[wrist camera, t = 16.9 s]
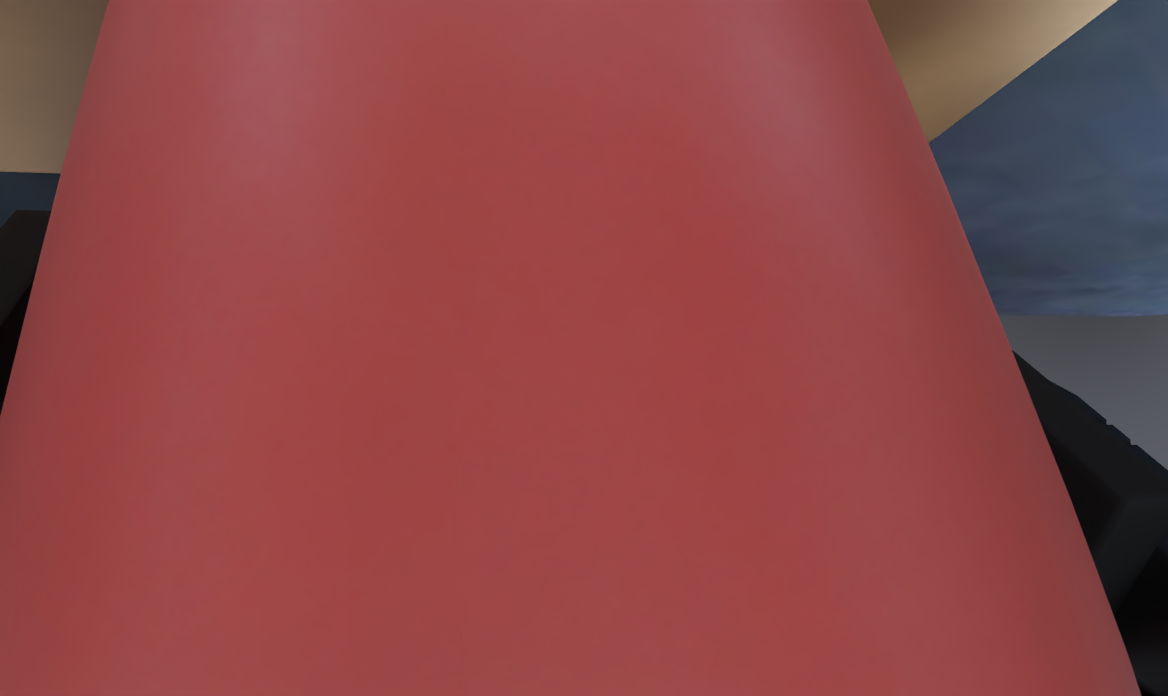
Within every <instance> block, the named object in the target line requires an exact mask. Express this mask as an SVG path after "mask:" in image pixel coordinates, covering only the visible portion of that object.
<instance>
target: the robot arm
mask: <svg viewBox="0 0 1168 696" xmlns="http://www.w3.org/2000/svg"><path fill="white" fill-rule="evenodd" d="M50 215H51V211H27V210H16V211H15V212H14V213H13V215H12V216H11V217H10V218H9V219H8V220H7V221H6V223H5V224H4V225H3V226H2V227H1V228H0V415H1V411H2V407H3V403H4V399H5V395H6V391H7V387H8V383H9V379H10V375H11V371H12V367H13V363H14V359H15V355H16V351H17V347H18V343H19V339H20V334H21V330H22V326H23V322H24V318H25V314H26V310H27V306H28V302H29V298H30V294H31V290H32V286H33V282H34V278H35V274H36V270H37V266H38V262H39V258H40V254H41V250H42V246H43V242H44V238H45V234H46V230H47V226H48V222H49V218H50ZM1012 352H1013V354H1014V357H1015V359H1016V362H1017V364H1018V367H1019V369H1020V372H1021V375H1022V377H1023V380H1024V382H1025V385H1026V387H1027V390H1028V392H1029V395H1030V397H1031V400H1032V402H1033V405H1034V407H1035V410H1036V413H1037V415H1038V418H1039V420H1040V423H1041V425H1042V428H1043V430H1044V433H1045V435H1046V438H1047V440H1048V443H1049V446H1050V448H1051V451H1052V453H1053V456H1054V458H1055V461H1056V463H1057V466H1058V468H1059V471H1060V473H1061V476H1062V479H1063V481H1064V484H1065V486H1066V489H1067V491H1068V494H1069V496H1070V499H1071V501H1072V504H1073V507H1074V509H1075V512H1076V515H1077V518H1078V520H1079V523H1080V526H1081V528H1082V531H1083V534H1084V537H1085V539H1086V542H1087V545H1088V547H1089V550H1090V553H1091V556H1092V558H1093V561H1094V564H1095V566H1096V569H1097V572H1098V575H1099V577H1100V580H1101V583H1102V585H1103V588H1104V591H1105V594H1106V596H1107V599H1108V602H1109V604H1110V607H1111V610H1112V613H1113V615H1114V618H1115V621H1116V623H1117V626H1118V629H1119V632H1120V634H1121V637H1122V640H1123V642H1124V645H1125V648H1126V651H1127V654H1128V656H1129V659H1130V662H1131V665H1132V668H1133V671H1134V674H1135V677H1136V680H1137V683H1138V687H1139V690H1140V693H1141V696H1168V470H1167V469H1165V468H1164V467H1163V466H1162V465H1161V464H1159V463H1158V462H1157V461H1156V460H1155V459H1153V458H1152V457H1151V456H1150V455H1148V454H1147V453H1146V452H1145V451H1144V450H1142V449H1141V448H1140V447H1139V446H1138V445H1131V443H1130V439H1129V438H1128V437H1127V436H1125V435H1124V434H1123V433H1122V432H1121V431H1119V430H1118V429H1117V428H1115V427H1114V426H1113V425H1107V424H1106V419H1105V418H1104V417H1102V416H1101V415H1100V414H1099V413H1097V412H1096V411H1095V410H1094V409H1093V408H1091V407H1090V406H1089V405H1088V404H1087V403H1085V402H1084V401H1083V400H1082V399H1080V398H1079V397H1078V396H1076V395H1075V394H1073V393H1071V392H1069V391H1067V390H1066V389H1064V388H1062V387H1060V386H1058V385H1056V384H1055V383H1053V382H1051V381H1049V380H1048V379H1046V378H1045V377H1044V376H1043V375H1042V374H1040V373H1039V372H1038V371H1037V370H1036V369H1034V368H1033V367H1032V366H1031V365H1030V364H1028V363H1027V362H1026V361H1025V360H1024V359H1022V358H1021V357H1020V356H1019V355H1018V354H1016V353H1015V352H1014V351H1013V350H1012Z"/></svg>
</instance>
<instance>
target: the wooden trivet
mask: <svg viewBox="0 0 1168 696" xmlns="http://www.w3.org/2000/svg"><path fill="white" fill-rule="evenodd" d="M867 1H868V3H869V5H870V7H871V10H872V12H873V14H874V17H875V19H876V21H877V24H878V26H879V28H880V31H881V33H882V35H883V38H884V40H885V42H886V45H887V47H888V49H889V51H890V54H891V56H892V58H893V61H894V63H895V65H896V68H897V70H898V72H899V75H900V77H901V79H902V82H903V84H904V87H905V89H906V91H907V94H908V96H909V99H910V101H911V103H912V106H913V108H914V111H915V113H916V115H917V118H918V120H919V123H920V125H921V127H922V130H923V132H924V135H925V137H926V139H927V142H928V143H929V142H930V141H932V140H933V139H934V138H936V137H937V136H938V135H940V134H941V133H942V132H944V131H945V130H946V129H948V128H949V127H950V126H952V125H953V124H954V123H956V122H957V121H958V120H960V119H961V118H962V117H964V116H965V115H966V114H968V113H969V112H970V111H971V110H973V109H974V108H975V107H977V106H978V105H979V104H981V103H982V102H983V101H985V100H986V99H987V98H989V97H990V96H991V95H993V94H994V93H995V92H997V91H998V90H999V89H1001V88H1002V87H1003V86H1005V85H1006V84H1007V83H1009V82H1010V81H1011V80H1013V79H1014V78H1015V77H1017V76H1018V75H1019V74H1021V73H1022V72H1023V71H1025V70H1026V69H1027V68H1029V67H1030V66H1031V65H1033V64H1034V63H1035V62H1037V61H1038V60H1039V59H1041V58H1042V57H1043V56H1045V55H1046V54H1047V53H1049V52H1050V51H1051V50H1053V49H1054V48H1055V47H1057V46H1058V45H1059V44H1061V43H1062V42H1063V41H1065V40H1066V39H1067V38H1069V37H1070V36H1071V35H1073V34H1074V33H1075V32H1077V31H1078V30H1079V29H1081V28H1082V27H1083V26H1085V25H1086V24H1087V23H1089V22H1090V21H1091V20H1093V19H1094V18H1095V17H1096V16H1098V15H1099V14H1100V13H1102V12H1103V11H1104V10H1106V9H1107V8H1108V7H1110V6H1111V5H1112V4H1114V3H1115V2H1116V1H1118V0H867ZM108 2H109V0H0V171H1V172H35V173H61V171H62V167H63V163H64V159H65V155H66V152H67V148H68V144H69V141H70V137H71V134H72V130H73V126H74V123H75V119H76V116H77V112H78V108H79V105H80V101H81V98H82V94H83V90H84V87H85V83H86V80H87V76H88V72H89V69H90V65H91V61H92V58H93V54H94V51H95V47H96V43H97V40H98V36H99V33H100V29H101V26H102V22H103V19H104V16H105V12H106V9H107V6H108Z"/></svg>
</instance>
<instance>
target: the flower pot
mask: <svg viewBox="0 0 1168 696" xmlns="http://www.w3.org/2000/svg"><path fill="white" fill-rule="evenodd" d="M0 696H1141V693H1140V690H1139V687H1138V683H1137V680H1136V677H1135V674H1134V671H1133V668H1132V665H1131V662H1130V659H1129V656H1128V654H1127V651H1126V648H1125V645H1124V642H1123V640H1122V637H1121V634H1120V632H1119V629H1118V626H1117V623H1116V621H1115V618H1114V615H1113V613H1112V610H1111V607H1110V604H1109V602H1108V599H1107V596H1106V594H1105V591H1104V588H1103V585H1102V583H1101V580H1100V577H1099V575H1098V572H1097V569H1096V566H1095V564H1094V561H1093V558H1092V556H1091V553H1090V550H1089V547H1088V545H1087V542H1086V539H1085V537H1084V534H1083V531H1082V528H1081V526H1080V523H1079V520H1078V518H1077V515H1076V512H1075V509H1074V507H1073V504H1072V501H1071V499H1070V496H1069V494H1068V491H1067V489H1066V486H1065V484H1064V481H1063V479H1062V476H1061V473H1060V471H1059V468H1058V466H1057V463H1056V461H1055V458H1054V456H1053V453H1052V451H1051V448H1050V446H1049V443H1048V440H1047V438H1046V435H1045V433H1044V430H1043V428H1042V425H1041V423H1040V420H1039V418H1038V415H1037V413H1036V410H1035V407H1034V405H1033V402H1032V400H1031V397H1030V395H1029V392H1028V390H1027V387H1026V385H1025V382H1024V380H1023V377H1022V375H1021V372H1020V369H1019V367H1018V364H1017V362H1016V359H1015V357H1014V354H1013V352H1012V349H1011V347H1010V344H1009V342H1008V339H1007V337H1006V334H1005V332H1004V329H1003V327H1002V324H1001V322H1000V319H999V317H998V314H997V312H996V310H995V307H994V305H993V302H992V300H991V297H990V295H989V293H988V290H987V288H986V285H985V283H984V280H983V278H982V275H981V273H980V270H979V268H978V265H977V263H976V260H975V258H974V255H973V253H972V250H971V248H970V245H969V243H968V240H967V238H966V235H965V233H964V230H963V228H962V225H961V222H960V220H959V217H958V215H957V212H956V210H955V207H954V205H953V202H952V200H951V197H950V195H949V192H948V190H947V187H946V185H945V183H944V180H943V178H942V175H941V173H940V171H939V168H938V166H937V163H936V161H935V159H934V156H933V154H932V151H931V149H930V147H929V144H928V142H927V139H926V137H925V135H924V132H923V130H922V127H921V125H920V123H919V120H918V118H917V115H916V113H915V111H914V108H913V106H912V103H911V101H910V99H909V96H908V94H907V91H906V89H905V87H904V84H903V82H902V79H901V77H900V75H899V72H898V70H897V68H896V65H895V63H894V61H893V58H892V56H891V54H890V51H889V49H888V47H887V45H886V42H885V40H884V38H883V35H882V33H881V31H880V28H879V26H878V24H877V21H876V19H875V17H874V14H873V12H872V10H871V7H870V5H869V3H868V1H867V0H109V2H108V6H107V9H106V12H105V16H104V19H103V22H102V26H101V29H100V33H99V36H98V40H97V43H96V47H95V51H94V54H93V58H92V61H91V65H90V69H89V72H88V76H87V80H86V83H85V87H84V90H83V94H82V98H81V101H80V105H79V108H78V112H77V116H76V119H75V123H74V126H73V130H72V134H71V137H70V141H69V144H68V148H67V152H66V155H65V159H64V163H63V167H62V171H61V175H60V179H59V183H58V187H57V191H56V195H55V199H54V203H53V207H52V211H51V215H50V218H49V222H48V226H47V230H46V234H45V238H44V242H43V246H42V250H41V254H40V258H39V262H38V266H37V270H36V274H35V278H34V282H33V286H32V290H31V294H30V298H29V302H28V306H27V310H26V314H25V318H24V322H23V326H22V330H21V334H20V339H19V343H18V347H17V351H16V355H15V359H14V363H13V367H12V371H11V375H10V379H9V383H8V387H7V391H6V395H5V399H4V403H3V407H2V411H1V415H0Z"/></svg>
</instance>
